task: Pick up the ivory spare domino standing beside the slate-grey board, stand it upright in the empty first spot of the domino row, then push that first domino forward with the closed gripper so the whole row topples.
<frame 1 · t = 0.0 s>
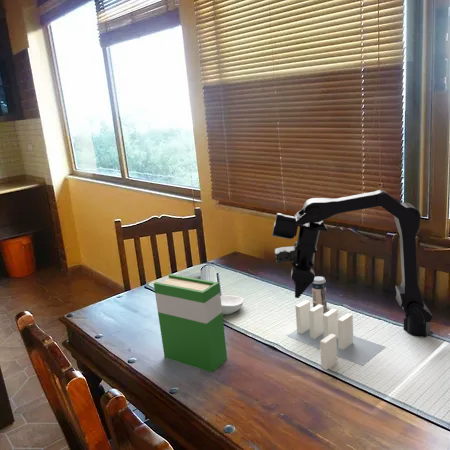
hand: (296, 291, 138), 15 cm above the table, tool pointing down, fingers open, 9 cm apart
hardback book: (195, 359, 137), on the table
domino 4: (317, 334, 141), point 1 cm above the table, touching domino board
domino 3: (331, 340, 137), point 1 cm above the table, touching domino board
spice jar: (320, 311, 158), on the table
domino 2: (346, 345, 134), point 1 cm above the table, touching domino board
domino board: (334, 344, 137), on the table
domino 5: (304, 330, 144), point 1 cm above the table, touching domino board
spare domino: (329, 368, 125), on the table
spoon rest: (216, 317, 162), on the table
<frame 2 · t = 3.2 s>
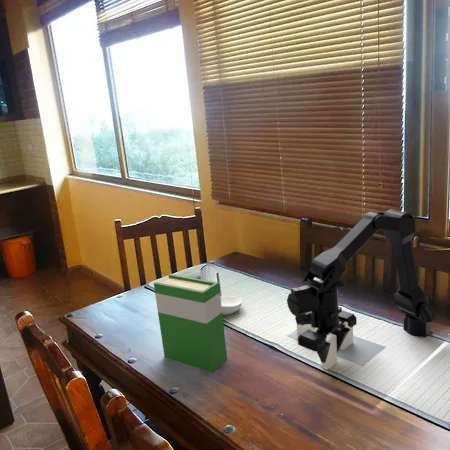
hand: (329, 357, 125), 3 cm above the table, tool pointing down, fingers closed on spare domino, 5 cm apart
spare domino: (329, 367, 125), on the table, touching gripper
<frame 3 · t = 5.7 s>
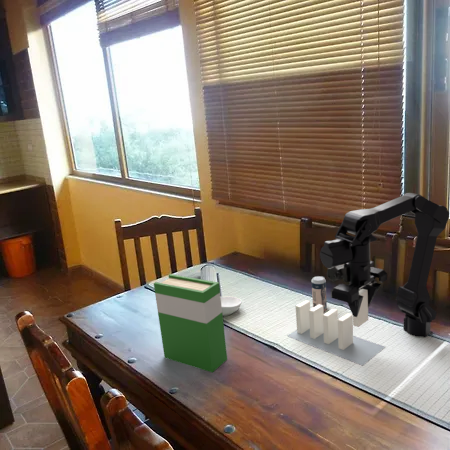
hand: (360, 312, 127), 13 cm above the table, tool pointing down, fingers closed on spare domino, 5 cm apart
spare domino: (360, 322, 128), point 10 cm above the table, touching gripper
when the fingers open (5 cm above the table, at t = 8.4 s): spare domino stays where it is, resting on domino board.
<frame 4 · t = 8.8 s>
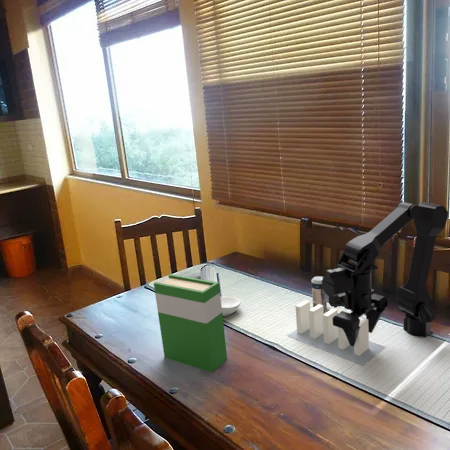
hand: (361, 338, 129), 5 cm above the table, tool pointing down, fingers open, 9 cm apart
spare domino: (361, 351, 130), point 1 cm above the table, touching domino board
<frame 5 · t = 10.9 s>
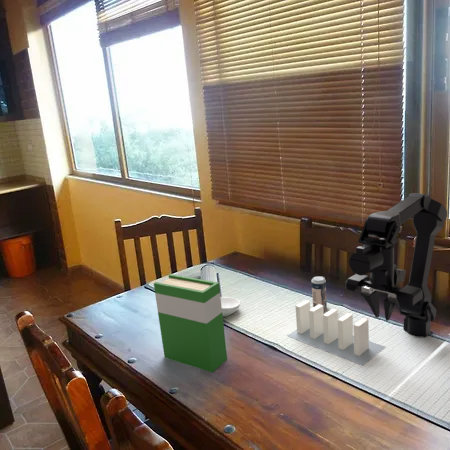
hand: (382, 318, 122), 13 cm above the table, tool pointing down, fingers open, 3 cm apart
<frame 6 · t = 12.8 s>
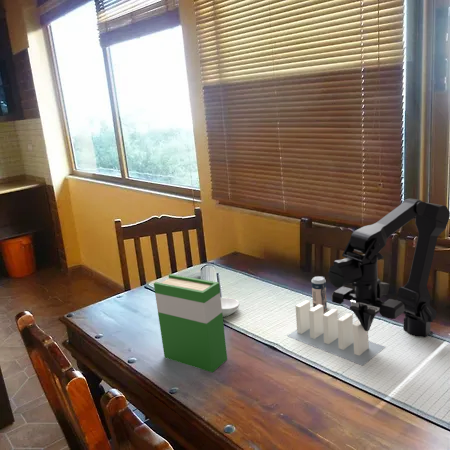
hand: (367, 330, 127), 8 cm above the table, tool pointing down, fingers closed
spare domino: (361, 351, 130), point 1 cm above the table, touching domino board, gripper
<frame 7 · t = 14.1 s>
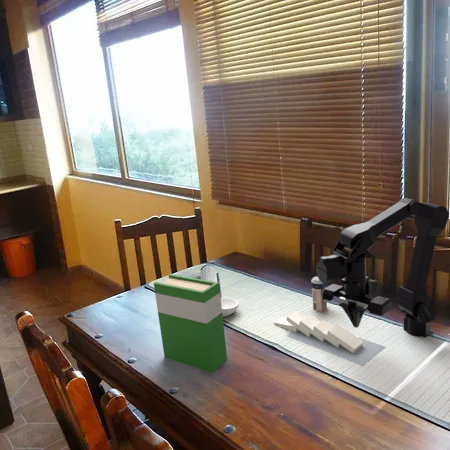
hand: (356, 326, 129), 8 cm above the table, tool pointing down, fingers closed
domino 4: (314, 331, 141), point 2 cm above the table, tilted 71°, touching domino 3, domino 5, domino board
domino 3: (328, 336, 138), point 2 cm above the table, tilted 71°, touching domino 2, domino 4, domino board
domino 2: (343, 342, 134), point 2 cm above the table, tilted 72°, touching domino 3, domino board, spare domino
domino 5: (300, 326, 145), point 2 cm above the table, tilted 97°, touching domino 4, domino board
spare domino: (358, 347, 131), point 2 cm above the table, tilted 71°, touching domino 2, domino board
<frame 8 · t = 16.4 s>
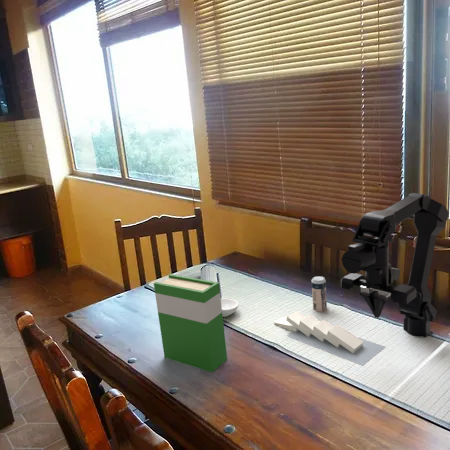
hand: (377, 317, 123), 13 cm above the table, tool pointing down, fingers closed
at the end: spare domino inside the target area (0.5 cm from its centre), point 1.8 cm above the table; domino 3 tilted 71°; domino 5 tilted 97° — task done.
